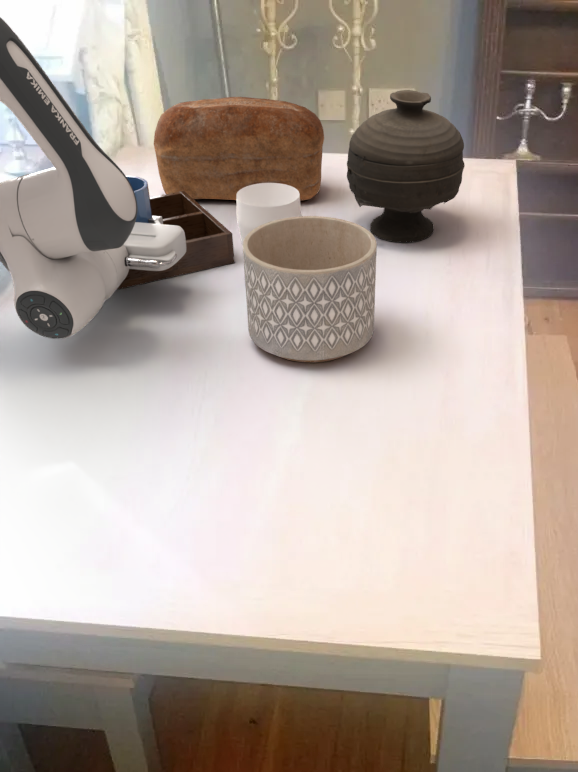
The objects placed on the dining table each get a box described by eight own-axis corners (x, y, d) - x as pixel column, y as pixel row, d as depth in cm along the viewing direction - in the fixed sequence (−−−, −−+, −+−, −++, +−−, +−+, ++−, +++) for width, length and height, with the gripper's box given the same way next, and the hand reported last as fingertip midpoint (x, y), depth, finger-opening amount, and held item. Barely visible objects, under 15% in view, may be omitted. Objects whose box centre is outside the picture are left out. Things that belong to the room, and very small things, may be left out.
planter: (399, 340, 118) (404, 245, 109) (303, 384, 110) (300, 285, 101) (318, 296, 127) (317, 205, 118) (224, 334, 119) (215, 239, 110)
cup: (276, 299, 126) (271, 212, 118) (228, 281, 130) (221, 197, 122) (315, 276, 132) (314, 192, 123) (268, 260, 135) (264, 177, 127)
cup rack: (114, 290, 128) (108, 259, 125) (75, 242, 140) (68, 212, 137) (234, 262, 135) (232, 233, 132) (187, 218, 146) (184, 190, 143)
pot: (468, 207, 148) (477, 74, 133) (450, 261, 137) (457, 124, 122) (363, 199, 152) (359, 69, 137) (337, 252, 141) (330, 117, 125)
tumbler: (120, 276, 129) (107, 197, 121) (105, 258, 133) (91, 181, 125) (165, 266, 131) (154, 188, 123) (148, 248, 135) (137, 172, 128)
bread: (323, 208, 150) (322, 114, 140) (156, 205, 150) (143, 112, 140) (326, 181, 158) (325, 91, 148) (168, 179, 159) (156, 89, 149)
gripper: (165, 243, 115) (197, 201, 125) (17, 230, 118) (59, 191, 128) (171, 290, 120) (202, 246, 129) (28, 276, 123) (69, 235, 132)
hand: (130, 218), depth 129 cm, fingers closed on tumbler, 7 cm apart
